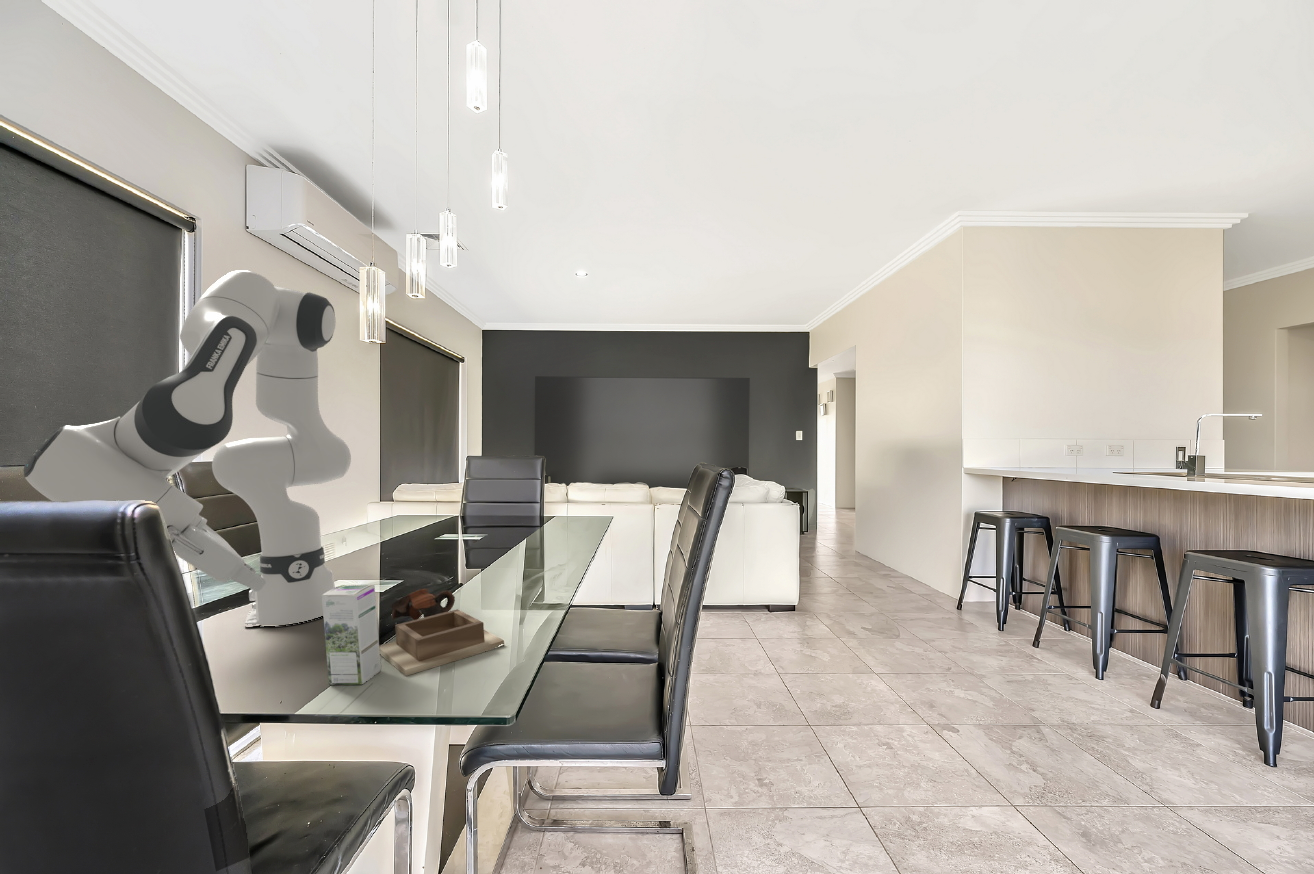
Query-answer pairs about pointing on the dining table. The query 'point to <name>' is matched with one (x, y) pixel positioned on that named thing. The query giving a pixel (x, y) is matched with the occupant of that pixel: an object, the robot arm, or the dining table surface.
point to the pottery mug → (422, 604)
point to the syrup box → (351, 634)
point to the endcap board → (437, 641)
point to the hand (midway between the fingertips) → (256, 580)
